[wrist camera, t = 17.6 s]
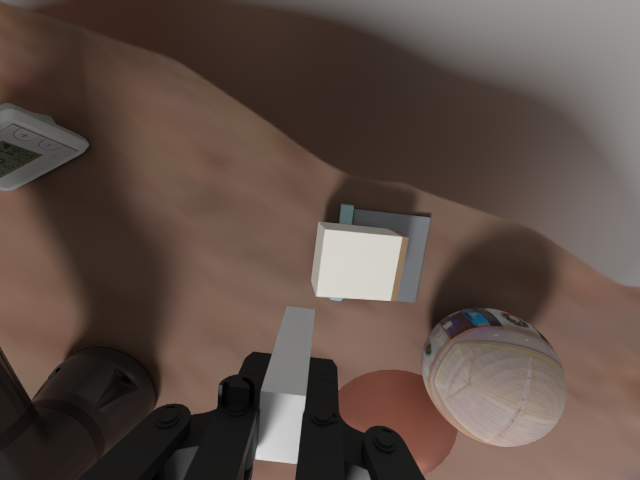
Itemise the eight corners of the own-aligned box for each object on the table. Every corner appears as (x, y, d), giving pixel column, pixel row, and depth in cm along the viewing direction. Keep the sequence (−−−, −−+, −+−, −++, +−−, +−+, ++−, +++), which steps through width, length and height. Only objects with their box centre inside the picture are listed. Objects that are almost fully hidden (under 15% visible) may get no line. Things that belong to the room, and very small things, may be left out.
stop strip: (329, 295, 44) (330, 299, 42) (341, 203, 41) (341, 204, 39) (341, 296, 44) (341, 300, 42) (353, 205, 41) (354, 206, 39)
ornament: (531, 355, 45) (630, 444, 30) (438, 400, 47) (487, 504, 32) (486, 270, 42) (570, 322, 28) (389, 322, 44) (419, 396, 30)
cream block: (316, 296, 36) (396, 301, 38) (324, 229, 34) (409, 237, 36) (311, 281, 41) (382, 285, 43) (318, 221, 39) (392, 229, 41)
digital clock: (8, 192, 42) (-78, 198, 33) (-18, 134, 40) (-115, 124, 32) (102, 168, 41) (39, 167, 32) (79, 108, 39) (7, 89, 30)
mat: (343, 293, 43) (343, 294, 43) (354, 208, 41) (354, 209, 40) (413, 301, 43) (414, 302, 43) (429, 217, 41) (430, 217, 40)
